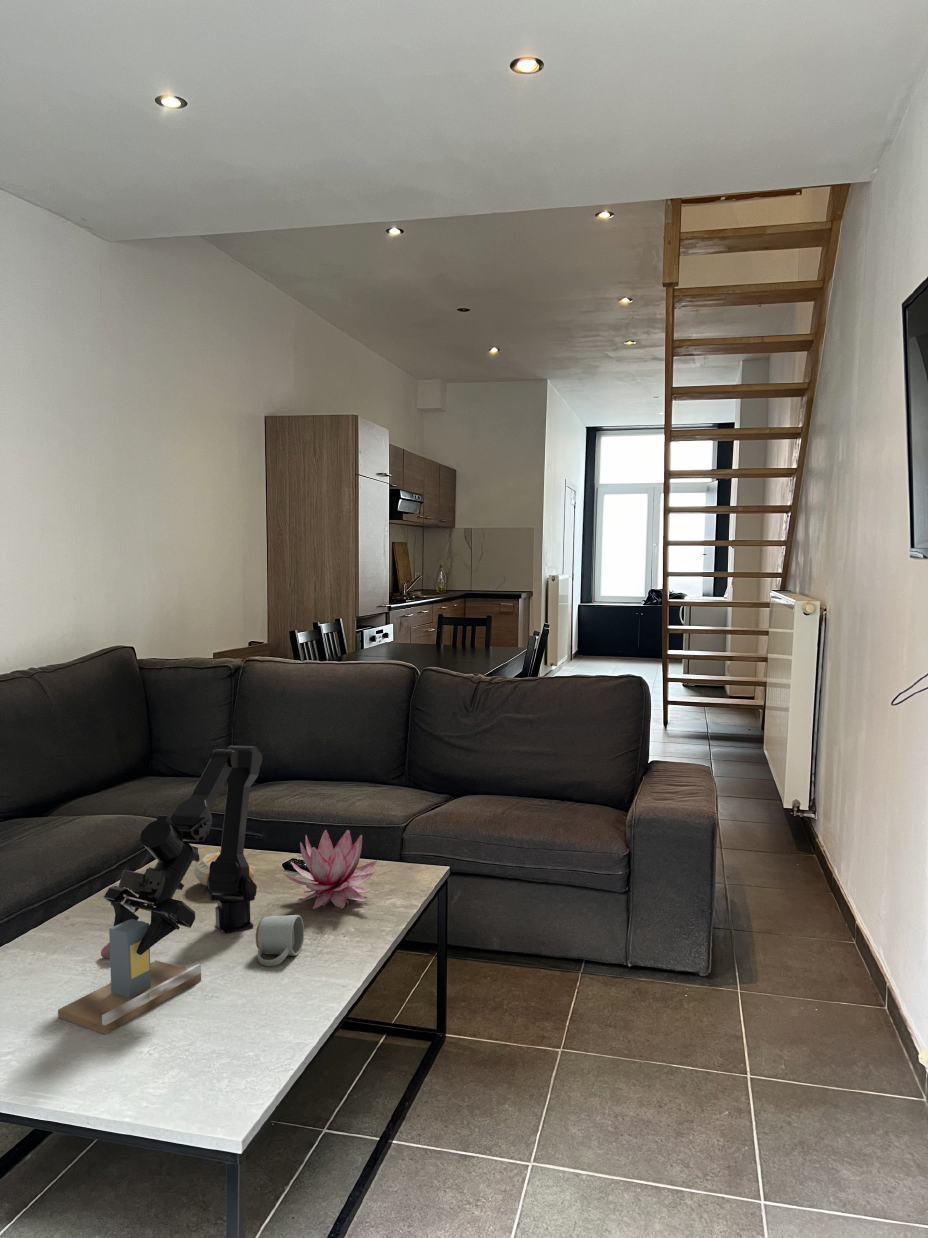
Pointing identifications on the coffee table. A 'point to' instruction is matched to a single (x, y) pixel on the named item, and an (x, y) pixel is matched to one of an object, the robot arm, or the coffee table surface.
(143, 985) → the tea tin
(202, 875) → the nautilus
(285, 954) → the ceramic mug
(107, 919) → the coffee table surface
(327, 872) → the decorative flower
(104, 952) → the pink elongated piece
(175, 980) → the board
